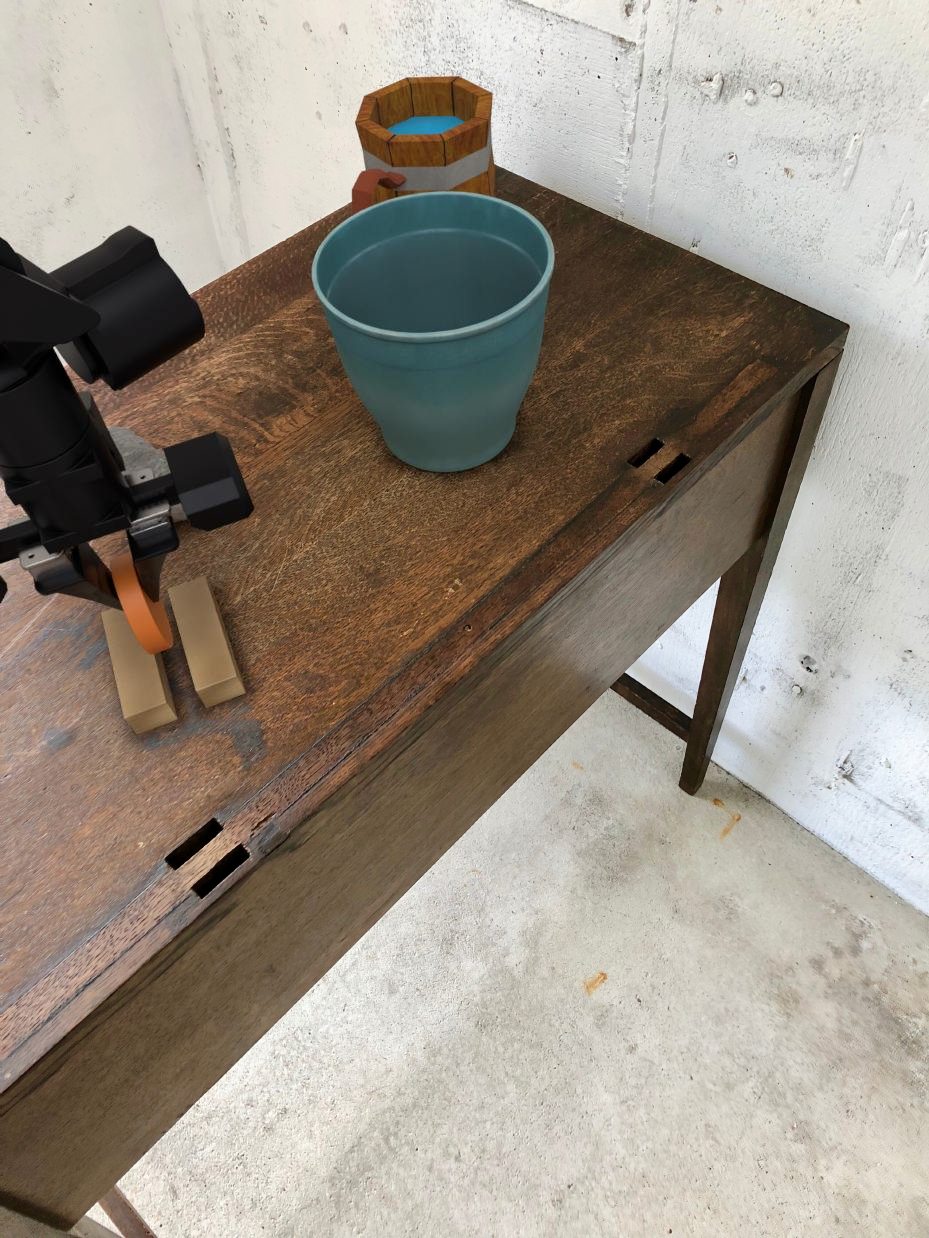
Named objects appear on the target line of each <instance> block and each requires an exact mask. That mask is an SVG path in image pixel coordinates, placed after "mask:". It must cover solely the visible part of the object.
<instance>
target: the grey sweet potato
mask: <svg viewBox="0 0 929 1238" xmlns="http://www.w3.org/2000/svg"><path fill="white" fill-rule="evenodd" d="M107 429H108V430H109V432H110V435H111V437H112V439H113V441H114V443H115V445H116V446H117V448H118V450H119V452H120V454H121V456H122V458H123V461H124V465H125V468H126V471H123V472H121V473H122V475H123V476H124V475H127V474H130V473H133V472H136V471H139V470H143V469H146V468H151V469H152V470H153V472H154V476H155V478H157V477H160V476H163V475H166V474H169V473H171V472H170V469H169V466H168V463H167V459H166V456H165V453H164V450H161V449H156V448H155V447H154V446H153V445H152V444H151V443H150V442H149V441H148V440H146V439H145V438H144V437H142V436H139V435H136V434H135V432H134V431H132V430H131V429H129V428H127V427H123V426H111V427H107ZM171 509H172V511H171V514H172V517H173V521H174V524H176V522H183V521H186V520H187V521H188V519H187V517H186V515H185V512H184V510H183V507H182V505H181V503H180V504H177V505H174V506H171Z"/></svg>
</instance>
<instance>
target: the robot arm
mask: <svg viewBox="0 0 929 1238" xmlns="http://www.w3.org/2000/svg"><path fill="white" fill-rule="evenodd" d="M205 335H206V323H205V319H204V315H203V313H202V309H201V308H200V305H199V303H198V302H197V300H196V299H195V298H193V297H191V295H190V293H189V291H188V289H187V287H185V285H184V283H183V282H182V280H181V279H180V277H179V276H178V275H177V273H176V272H175V271H174V270H173V268H172V267H171V266H170V264H169V263H168V262H167V261H166V260H165V259H164V258H163V257H162V256H161V254H160V252H159V249H158V246H157V244H156V241H155V239H154V238H153V237H152V236H150V235H148V234H146V233H145V232H143V231H142V230H140V229H138V228H136V227H135V226H133V225H131V224H128V225H127V226H124V227H123V228H121V229H119V230H117V231H115V232H113V233H112V234H111V235H109V236H108V237H107V238H106V239H105V240H104V241H103V242H102V243H101V244H99V245H98V246H96V247H94V248H93V249H90V250H88V251H87V252H85V253H83V254H81V255H79V256H77V257H76V258H74V259H72V260H70V261H68V262H66V263H65V264H63V265H61V266H60V267H57V268H55V269H54V270H52V271H50V272H46V271H45V270H44V269H42V268H41V267H39V266H38V265H36V264H35V263H34V262H32V261H31V260H29V259H28V258H26V257H25V256H23V255H22V254H21V253H19V252H16V251H15V250H14V248H13V247H12V246H11V244H10V243H9V242H8V241H7V240H6V239H4V238H3V237H1V236H0V479H1V480H2V482H3V485H4V491H5V495H6V496H7V498H8V499H9V500H10V502H11V503H12V504H13V506H14V507H17V506H20V507H21V508H22V511H24V513H25V514H26V515H24V516H19V517H18V518H14V519H11V520H10V521H8V522H7V525H6V527H4V528H0V565H2V564H5V563H8V562H11V561H14V560H17V559H19V565H20V567H21V569H22V570H23V571H25V572H28V573H29V575H30V576H31V578H32V580H33V585H34V590H35V591H36V592H37V593H38V594H39V595H40V596H43V597H47V596H51V595H55V594H60V595H64V596H69V597H73V598H78V599H83V600H88V601H92V602H95V603H98V604H100V605H103V606H106V607H109V608H111V609H112V608H115V609H118V610H121V611H123V612H124V610H123V608H122V606H121V603H120V600H119V598H118V595H117V592H116V589H115V585H114V582H113V578H112V574H111V569H110V568H109V567H108V566H107V565H106V563H105V562H104V560H103V559H101V557H100V556H99V555H98V553H97V552H96V551H95V550H94V549H93V547H92V546H91V545H90V543H89V542H91V541H95V540H97V539H101V538H105V537H106V536H109V535H112V534H116V533H118V532H121V531H124V532H125V534H126V539H127V543H128V546H129V551H130V552H131V555H132V559H133V562H134V564H135V567H136V569H137V572H138V574H139V576H140V579H141V581H142V584H143V586H144V588H145V591H146V593H147V595H148V597H149V598H150V599H151V600H152V601H153V602H154V603H156V602H158V601H159V597H160V598H161V596H160V595H161V594H160V593H161V591H160V590H161V587H160V586H161V574H162V570H163V567H164V564H165V561H166V558H167V555H169V554H172V553H174V552H176V551H177V550H178V549H179V548H180V546H181V540H180V537H179V534H178V530H177V527H176V523H174V521H173V517H172V514H171V511H172V509H171V506H174V505H177V504H180V503H181V505H182V507H183V510H184V512H185V515H186V517H187V519H188V520H187V521H188V523H189V525H190V527H191V529H192V528H193V529H196V530H200V531H204V532H208V533H209V532H211V531H215V530H217V529H220V528H223V527H226V526H229V525H232V524H234V523H238V522H240V521H243V520H246V519H249V518H250V516H252V514H253V512H254V511H255V509H256V508H255V505H254V502H253V500H252V497H251V495H250V492H249V490H248V487H247V484H246V482H245V479H244V476H243V474H242V471H241V469H240V466H239V464H238V461H237V458H236V455H235V453H234V451H233V448H232V445H231V443H230V442H231V441H230V440H229V437H228V436H225V435H224V434H221V433H219V432H218V431H212V432H208V433H205V434H203V435H200V436H197V437H193V438H191V439H187V440H184V441H181V442H178V443H174V444H172V445H168V446H166V447H163V448H162V449H163V450H162V451H163V452H164V453H165V456H166V459H167V463H168V466H169V469H170V472H171V473H169V474H166V475H163V476H160V477H157V478H155V476H154V472H153V470H152V469H151V468H146V469H143V470H139V471H136V472H133V473H130V474H127V475H124V476H123V475H122V473H121V472H123V471H126V468H125V465H124V461H123V458H122V456H121V454H120V452H119V450H118V448H117V446H116V445H115V443H114V441H113V439H112V437H111V435H110V432H109V430H108V429H107V428H108V427H107V424H106V422H105V421H104V419H103V416H102V414H101V412H100V410H99V408H98V405H97V403H96V401H95V399H94V397H93V395H92V393H91V391H88V390H82V391H77V389H76V387H75V385H74V382H73V381H72V379H71V377H70V376H69V374H68V372H67V369H66V368H65V367H64V365H63V363H62V361H61V359H60V357H59V355H60V356H61V358H62V359H63V360H64V362H65V363H66V364H67V365H68V366H69V368H70V369H71V370H72V371H73V372H74V373H75V375H77V377H78V378H80V379H81V380H82V381H83V382H84V383H86V384H88V385H93V384H96V383H97V382H98V381H100V380H102V381H103V382H104V383H105V384H106V385H107V386H109V387H110V389H111V390H112V391H113V392H117V391H122V390H124V389H125V388H127V387H128V386H130V385H132V384H133V383H135V382H137V381H138V380H140V379H141V378H143V377H145V376H146V375H148V374H149V373H152V371H154V370H155V369H157V368H160V367H161V366H162V365H164V364H165V363H167V362H168V361H170V360H172V359H173V358H175V357H176V356H178V355H180V354H182V352H185V351H186V350H187V349H189V348H191V347H192V346H194V345H196V344H197V343H199V342H200V341H201V340H203V339H204V338H205ZM55 349H56V350H57V352H58V353H57V352H56V350H55ZM58 354H59V355H58ZM8 592H9V588H8V583H7V581H6V580H5V579H4V578H3V576H1V574H0V604H2V603H3V600H4V599H5V597H6V595H7V593H8Z"/></svg>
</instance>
